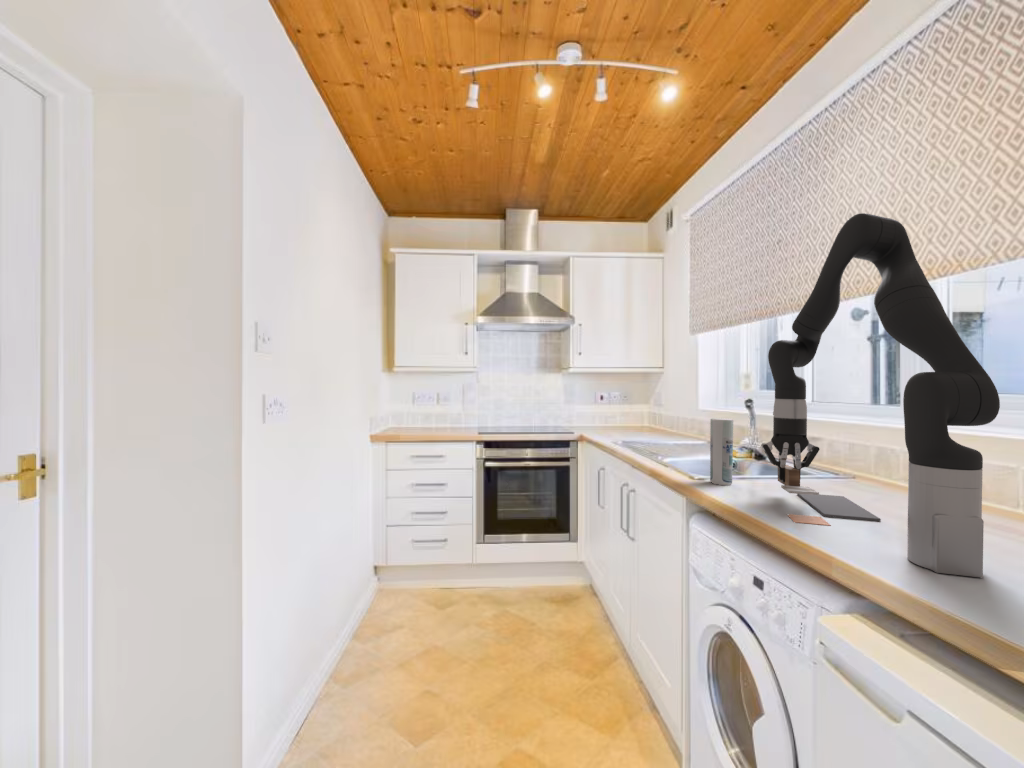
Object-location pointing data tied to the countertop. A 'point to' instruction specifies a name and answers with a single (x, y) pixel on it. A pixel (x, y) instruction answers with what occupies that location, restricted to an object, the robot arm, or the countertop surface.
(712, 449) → the spray can
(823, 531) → the countertop surface
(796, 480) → the turner
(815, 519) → the tile
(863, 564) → the countertop surface
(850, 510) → the mat
